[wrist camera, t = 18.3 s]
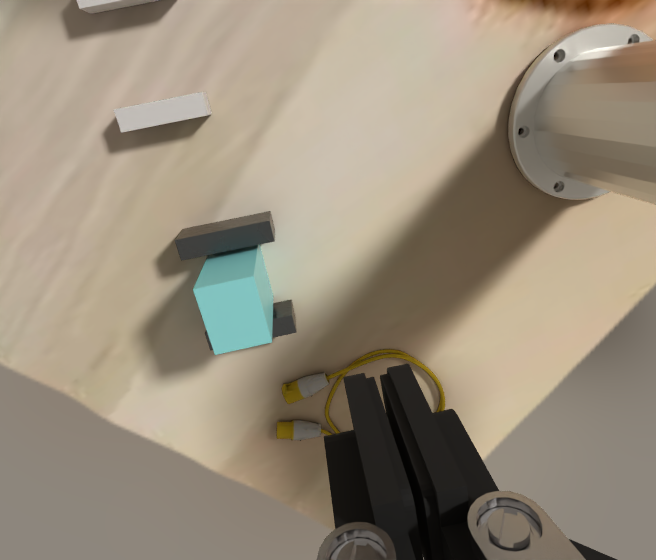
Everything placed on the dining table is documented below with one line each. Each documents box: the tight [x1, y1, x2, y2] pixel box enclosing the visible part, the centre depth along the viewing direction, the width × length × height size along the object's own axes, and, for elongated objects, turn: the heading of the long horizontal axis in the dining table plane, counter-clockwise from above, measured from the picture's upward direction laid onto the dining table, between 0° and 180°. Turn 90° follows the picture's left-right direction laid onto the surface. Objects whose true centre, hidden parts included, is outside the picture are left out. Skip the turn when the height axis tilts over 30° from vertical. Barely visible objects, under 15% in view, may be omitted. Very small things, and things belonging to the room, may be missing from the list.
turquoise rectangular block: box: [193, 244, 273, 355], centre depth 35 cm, size 4×5×8 cm
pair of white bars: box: [77, 0, 212, 133], centre depth 31 cm, size 6×9×2 cm, turn 11°
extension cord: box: [277, 349, 445, 441], centre depth 44 cm, size 12×16×2 cm
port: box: [175, 211, 296, 350], centre depth 37 cm, size 7×9×3 cm
